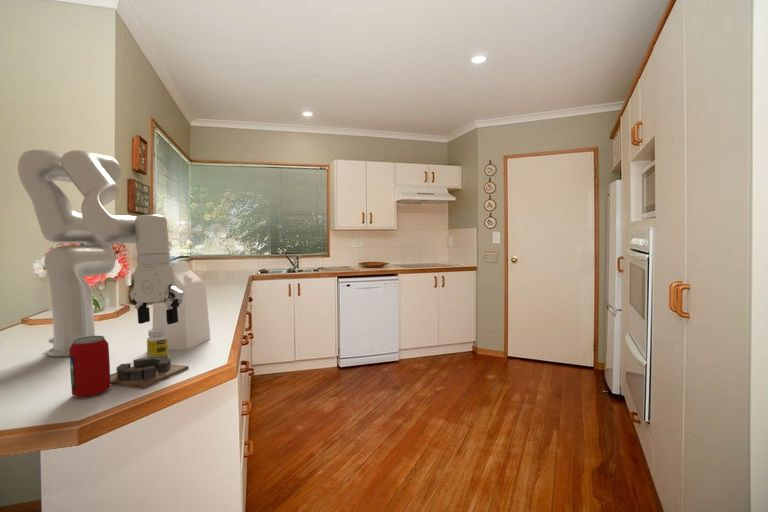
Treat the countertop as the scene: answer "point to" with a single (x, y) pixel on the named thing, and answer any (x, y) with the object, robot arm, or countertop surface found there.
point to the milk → (185, 311)
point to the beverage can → (89, 366)
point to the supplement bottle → (157, 343)
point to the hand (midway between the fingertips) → (158, 322)
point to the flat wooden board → (145, 372)
